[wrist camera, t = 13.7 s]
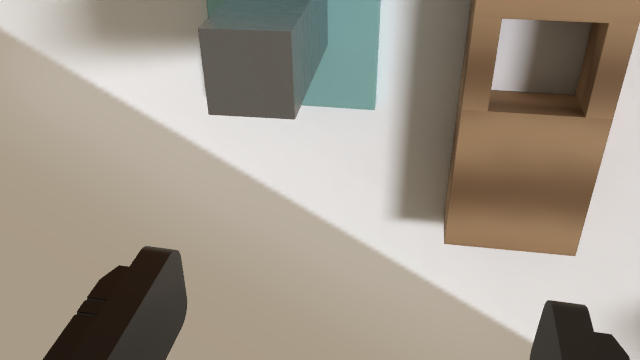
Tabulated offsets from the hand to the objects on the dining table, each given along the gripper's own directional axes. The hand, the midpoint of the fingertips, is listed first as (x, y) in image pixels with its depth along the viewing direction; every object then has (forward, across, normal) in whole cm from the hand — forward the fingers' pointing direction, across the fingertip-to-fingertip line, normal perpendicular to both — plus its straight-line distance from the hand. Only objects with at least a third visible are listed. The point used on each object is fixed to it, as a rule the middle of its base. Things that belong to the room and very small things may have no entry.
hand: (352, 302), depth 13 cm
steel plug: (+24, +7, +1) cm, 25 cm away
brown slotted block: (+25, -7, +3) cm, 26 cm away
